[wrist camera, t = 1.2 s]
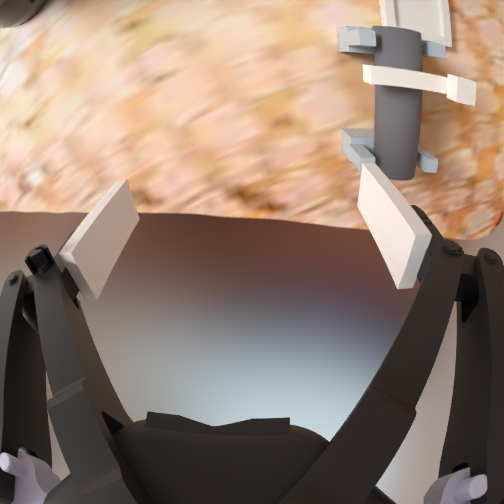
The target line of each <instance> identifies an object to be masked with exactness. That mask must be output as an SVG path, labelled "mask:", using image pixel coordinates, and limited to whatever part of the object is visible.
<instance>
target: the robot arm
mask: <svg viewBox="0 0 504 504" xmlns="http://www.w3.org/2000/svg"><path fill="white" fill-rule="evenodd" d="M46 1H47V0H0V28H9V27H15V26H18V25H21V24H22V23H24V22H26V21H27V20H29V19H30V18H31V17H32V16H33V15H34V14H36V13H37V12H38V11H39V9H40V8H41V7H42V6H43V5H44V4H45V2H46ZM357 207H358V209H359V210H360V212H361V214H362V216H363V218H364V220H365V222H366V224H367V226H368V227H369V229H370V231H371V233H372V235H373V237H374V239H375V241H376V243H377V245H378V247H379V250H380V252H381V254H382V256H383V258H384V260H385V262H386V264H387V266H388V269H389V271H390V273H391V275H392V277H393V280H394V282H395V284H396V287H397V289H404V288H412V287H413V286H414V283H415V280H416V278H418V280H419V282H420V286H419V289H418V291H417V293H416V296H415V298H414V300H413V303H412V305H411V307H410V309H409V312H408V314H407V316H406V318H405V320H404V322H403V324H402V326H401V328H400V330H399V332H398V334H397V336H396V338H395V340H394V342H393V344H392V346H391V348H390V350H389V352H388V354H387V355H386V357H385V359H384V361H383V362H382V364H381V366H380V368H379V369H378V371H377V373H376V374H375V376H374V378H373V379H372V381H371V383H370V385H369V386H368V388H367V389H366V391H365V393H364V394H363V396H362V397H361V399H360V400H359V402H358V403H357V405H356V406H355V408H354V409H353V411H352V412H351V414H350V415H349V417H348V418H347V419H346V421H345V422H344V424H343V425H342V426H341V428H340V429H339V430H338V432H337V433H336V434H335V436H334V437H333V438H332V440H331V441H330V442H329V441H328V440H326V439H325V438H323V437H322V436H321V435H319V434H317V433H315V432H313V431H311V430H309V429H306V428H303V427H299V426H295V425H290V418H268V419H250V420H245V421H241V422H236V423H232V424H227V425H221V426H210V425H207V424H203V423H200V422H197V421H194V420H191V419H188V418H185V417H183V416H180V415H171V414H163V413H155V412H148V413H147V418H146V419H145V420H141V421H137V422H133V421H132V420H131V419H130V417H129V416H128V415H127V413H126V412H125V410H124V408H123V406H122V404H121V402H120V400H119V398H118V396H117V394H116V392H115V390H114V388H113V386H112V384H111V382H110V379H109V377H108V375H107V373H106V371H105V368H104V366H103V364H102V361H101V359H100V356H99V354H98V352H97V349H96V347H95V344H94V342H93V339H92V336H91V334H90V331H89V328H88V325H87V323H86V320H85V317H84V314H83V311H82V308H81V305H80V302H79V300H78V299H77V297H76V296H77V294H78V292H79V291H80V292H81V294H82V296H83V297H84V299H88V300H89V299H90V300H97V299H98V297H99V295H100V292H101V291H102V288H103V286H104V284H105V282H106V280H107V278H108V276H109V274H110V272H111V270H112V268H113V266H114V264H115V263H116V261H117V259H118V257H119V255H120V253H121V251H122V249H123V247H124V246H125V244H126V242H127V240H128V238H129V237H130V235H131V233H132V231H133V229H134V227H135V226H136V224H137V222H138V221H139V216H138V213H137V210H136V207H135V204H134V200H133V197H132V194H131V191H130V187H129V184H128V180H127V179H126V180H120V181H116V182H115V183H114V184H113V185H112V186H111V188H110V189H109V190H108V191H107V192H106V193H105V194H104V196H103V197H102V198H101V199H100V200H99V202H98V203H97V204H96V205H95V206H94V208H93V209H92V210H91V211H90V213H89V214H88V215H87V216H86V218H85V219H84V220H83V222H82V223H81V224H80V225H79V227H78V228H77V229H75V230H74V231H73V232H72V234H71V235H70V236H69V237H68V239H67V241H66V242H65V243H64V245H63V246H62V247H61V248H60V250H59V251H58V253H57V254H56V256H55V257H54V258H53V257H52V255H51V253H50V251H49V249H48V247H47V245H39V246H38V247H35V248H34V249H33V250H31V251H30V252H29V253H28V255H27V256H26V258H25V262H26V264H27V266H28V267H29V269H30V271H31V272H32V274H33V275H32V276H29V277H25V275H24V273H23V272H22V271H21V270H18V271H15V272H13V273H11V275H9V276H8V278H7V279H6V281H5V283H4V286H3V289H2V293H1V296H0V504H396V503H395V502H394V501H393V500H391V499H390V498H389V497H388V496H387V495H385V494H384V493H383V492H382V491H381V490H380V489H379V488H378V487H376V486H375V485H376V484H377V482H378V481H379V479H380V478H381V476H382V475H383V473H384V472H385V470H386V469H387V467H388V465H389V464H390V462H391V461H392V459H393V458H394V456H395V454H396V453H397V451H398V449H399V447H400V446H401V444H402V442H403V440H404V439H405V437H406V435H407V433H408V431H409V429H410V427H411V425H412V423H413V421H414V419H415V417H416V410H415V407H416V404H417V402H418V400H419V398H420V396H421V394H422V391H423V389H424V387H425V385H426V382H427V380H428V377H429V375H430V373H431V370H432V368H433V365H434V362H435V360H436V357H437V355H438V352H439V349H440V346H441V343H442V340H443V337H444V334H445V331H446V328H447V325H448V321H449V318H450V315H451V311H452V308H453V304H454V301H456V302H457V349H456V365H455V378H454V387H453V396H452V403H451V410H450V416H449V422H448V427H447V432H446V438H445V442H444V446H443V451H442V456H441V461H440V468H439V476H438V480H436V481H435V482H434V483H433V484H432V485H431V486H430V488H429V490H428V492H427V493H426V494H425V496H424V504H504V265H503V262H502V260H501V258H500V257H499V255H498V254H497V253H496V252H494V251H493V250H491V249H488V248H481V249H480V250H479V251H478V254H477V256H471V255H467V254H464V251H463V249H462V248H461V247H460V246H459V245H458V244H457V243H455V242H453V241H451V240H448V239H444V238H443V237H442V235H441V234H440V232H439V231H438V230H437V228H436V227H435V226H434V224H432V222H431V220H430V219H428V217H427V215H426V214H425V213H424V211H422V210H421V209H420V208H418V207H417V206H415V205H410V204H409V203H408V202H407V201H406V199H405V198H404V197H403V196H402V194H401V193H400V192H399V191H398V189H397V188H396V187H395V186H394V185H393V183H392V182H391V181H390V180H389V179H388V178H387V176H386V175H385V174H384V173H383V172H382V171H381V170H380V168H379V167H378V166H377V165H376V164H375V163H362V171H361V180H360V189H359V197H358V205H357ZM23 314H24V315H25V318H24V316H23ZM46 371H47V375H48V379H49V383H50V387H51V391H52V394H53V398H51V399H49V400H48V402H47V399H46ZM47 409H48V412H49V416H50V419H51V422H52V425H53V428H54V431H55V435H56V437H57V440H58V443H59V446H60V448H61V451H62V454H63V456H64V459H65V461H66V463H67V466H68V468H69V470H70V473H71V474H69V475H68V476H67V477H66V478H65V479H64V480H62V481H61V480H60V478H59V477H58V475H56V474H54V473H53V471H52V455H51V453H52V452H51V442H50V433H49V425H48V414H47Z"/></svg>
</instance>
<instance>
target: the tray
mask: <svg viewBox="0 0 504 504" xmlns="http://www.w3.org/2000/svg"><path fill="white" fill-rule="evenodd" d="M379 6H380V15H381V25H382V26H391V27H399V28H405V29H410V30H414V31H417V32H420V33H421V37H422V41H426V42H435V43H439V44H443V45H446V47H452V37H451V23H450V13H449V4H448V0H379Z"/></svg>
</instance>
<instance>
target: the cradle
mask: <svg viewBox="0 0 504 504" xmlns="http://www.w3.org/2000/svg"><path fill="white" fill-rule="evenodd" d="M337 35H338V47H339V52H355V53H367V54H374V46H376V35H375V31H373V30H372V28H363V27H354V26H345V27H341V28H337ZM421 40H422V37H421ZM423 56H428V57H434V58H440V59H446V45H443V44H439V43H435V42H426V41H422V61H423ZM374 130H375V129H342V152H343V153H344V154H345V156H346V157H347V158H348V160H349V161H350V162H353V164H354V165H355V166H356V168H357V169H358V170H359V172H361V171H362V163H375V157H374V156H373V150H374ZM438 161H439V160H438V159H437V158H436V157H435V156H433V155H432V154H431V153H429V152H428V151H427V150H425V149H424V148H423V147H422V146H419V143H418V152H417V160H416V164H417V165H418V166H419V167H420V168H421V169H422V170H423V171H424V172H426V173H437V167H438Z"/></svg>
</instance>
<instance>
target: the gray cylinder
mask: <svg viewBox="0 0 504 504" xmlns="http://www.w3.org/2000/svg"><path fill="white" fill-rule="evenodd" d="M372 30H373V31H375V35H376V46H374V63H375V65H376V66H385V67H393V68H401V69H407V70H414V71H420V72H422V40H421V33H420V32H417V31H414V30H410V29H405V28H399V27H391V26H373V27H372ZM421 106H422V90H421V89H414V88H407V87H399V86H389V85H378V84H375V130H374V150H373V156H374V157H375V164H376V165H377V166H378V167H379V168H380V170H381V171H382V172H383V173H384V174H385V175H386V176H387V178H389V179H393V180H410V179H412V178H413V177H414V174H415V168H416V160H417V152H418V143H419V133H420V122H421Z"/></svg>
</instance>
